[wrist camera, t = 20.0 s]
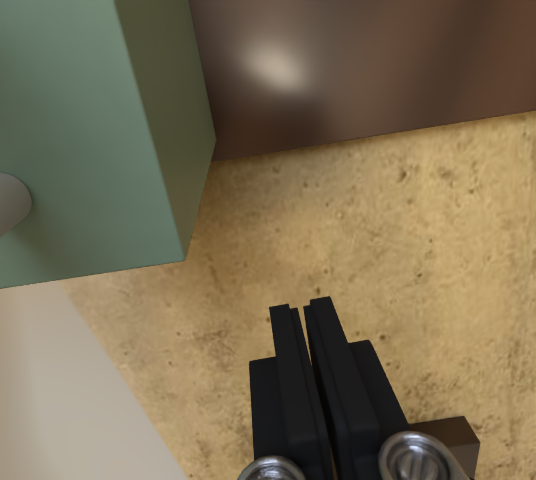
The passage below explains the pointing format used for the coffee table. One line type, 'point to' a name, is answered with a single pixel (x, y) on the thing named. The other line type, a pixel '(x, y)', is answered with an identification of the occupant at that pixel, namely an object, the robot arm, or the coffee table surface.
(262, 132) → the clock stand
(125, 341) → the coffee table surface
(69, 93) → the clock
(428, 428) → the button block
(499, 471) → the coffee table surface
